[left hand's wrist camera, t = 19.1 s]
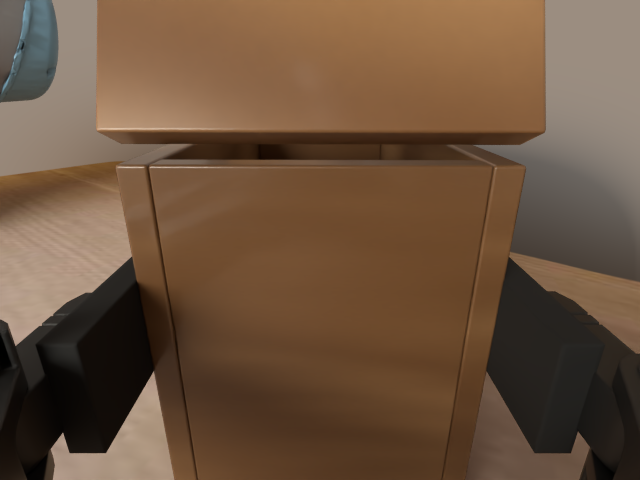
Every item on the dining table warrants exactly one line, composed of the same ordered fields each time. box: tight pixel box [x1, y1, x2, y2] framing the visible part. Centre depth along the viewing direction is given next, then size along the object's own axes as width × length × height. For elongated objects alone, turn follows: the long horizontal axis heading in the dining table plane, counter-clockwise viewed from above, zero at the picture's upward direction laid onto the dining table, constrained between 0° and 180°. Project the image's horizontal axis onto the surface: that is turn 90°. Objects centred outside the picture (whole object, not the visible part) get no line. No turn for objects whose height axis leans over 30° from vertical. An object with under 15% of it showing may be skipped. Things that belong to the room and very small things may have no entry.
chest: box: [116, 144, 526, 480], centre depth 18 cm, size 17×9×10 cm, turn 0°
